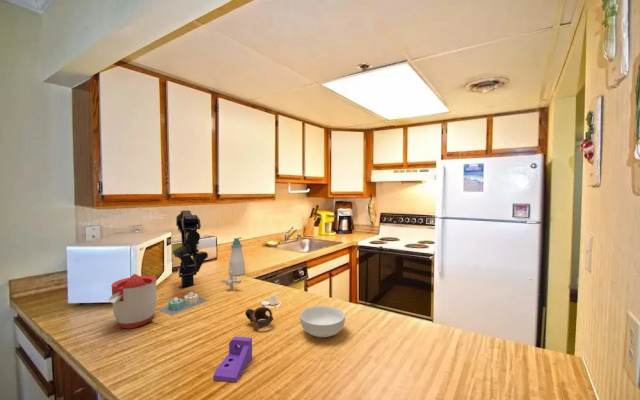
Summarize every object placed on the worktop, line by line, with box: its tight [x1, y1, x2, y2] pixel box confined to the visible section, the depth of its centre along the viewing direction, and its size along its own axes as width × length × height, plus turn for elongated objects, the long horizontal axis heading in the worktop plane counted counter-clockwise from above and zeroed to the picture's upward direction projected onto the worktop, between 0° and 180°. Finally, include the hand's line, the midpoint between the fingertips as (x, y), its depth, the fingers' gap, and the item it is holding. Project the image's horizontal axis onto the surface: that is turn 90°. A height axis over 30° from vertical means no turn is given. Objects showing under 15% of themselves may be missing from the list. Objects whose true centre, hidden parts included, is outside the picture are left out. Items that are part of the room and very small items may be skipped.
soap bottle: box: [228, 236, 246, 277], centre depth 186 cm, size 10×10×23 cm
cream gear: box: [183, 293, 200, 305], centre depth 137 cm, size 6×6×3 cm
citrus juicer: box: [108, 273, 157, 329], centre depth 118 cm, size 16×17×20 cm
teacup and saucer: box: [260, 295, 282, 309], centre depth 138 cm, size 9×8×4 cm
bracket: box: [212, 336, 253, 383], centre depth 89 cm, size 12×7×7 cm, turn 171°
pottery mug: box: [245, 306, 274, 332], centre depth 117 cm, size 12×10×8 cm
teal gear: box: [167, 298, 184, 311], centre depth 131 cm, size 6×6×3 cm
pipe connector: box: [221, 271, 242, 292], centre depth 157 cm, size 10×10×10 cm
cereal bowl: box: [299, 305, 346, 338], centre depth 111 cm, size 17×17×7 cm
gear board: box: [157, 291, 210, 316], centre depth 134 cm, size 11×19×6 cm, turn 150°
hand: (191, 270), depth 148 cm, fingers open, 9 cm apart
